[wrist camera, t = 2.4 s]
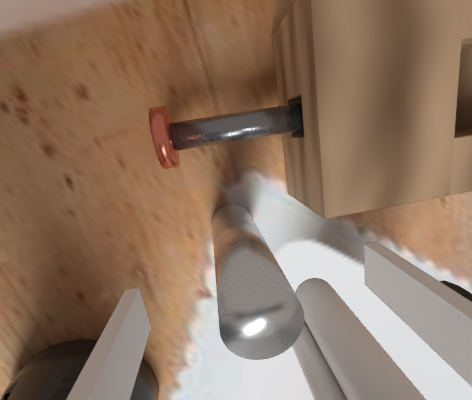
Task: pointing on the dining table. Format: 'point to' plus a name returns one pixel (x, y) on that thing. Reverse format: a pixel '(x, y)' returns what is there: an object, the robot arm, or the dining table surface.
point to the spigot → (251, 289)
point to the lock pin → (218, 129)
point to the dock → (376, 101)
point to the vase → (344, 352)
